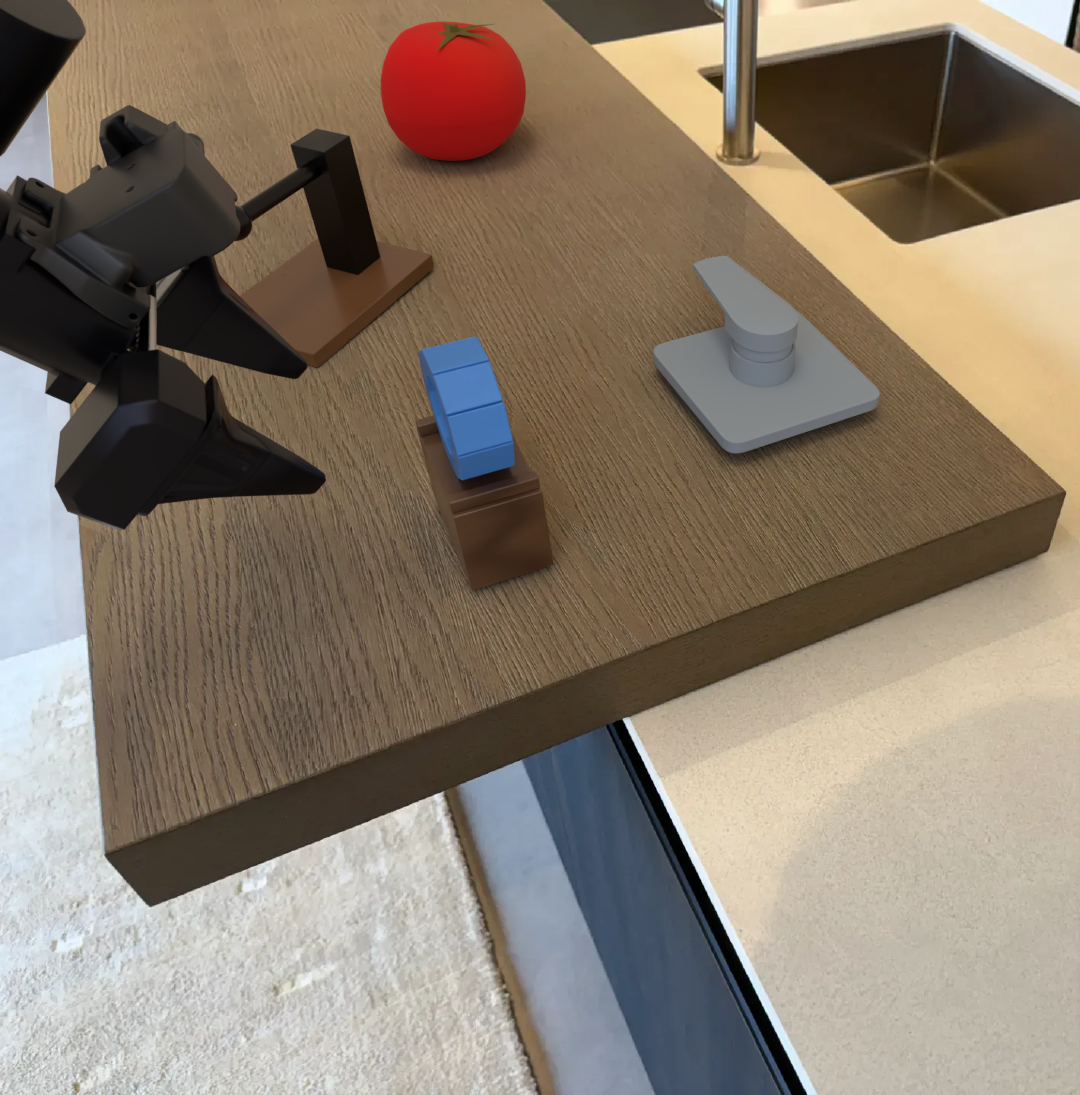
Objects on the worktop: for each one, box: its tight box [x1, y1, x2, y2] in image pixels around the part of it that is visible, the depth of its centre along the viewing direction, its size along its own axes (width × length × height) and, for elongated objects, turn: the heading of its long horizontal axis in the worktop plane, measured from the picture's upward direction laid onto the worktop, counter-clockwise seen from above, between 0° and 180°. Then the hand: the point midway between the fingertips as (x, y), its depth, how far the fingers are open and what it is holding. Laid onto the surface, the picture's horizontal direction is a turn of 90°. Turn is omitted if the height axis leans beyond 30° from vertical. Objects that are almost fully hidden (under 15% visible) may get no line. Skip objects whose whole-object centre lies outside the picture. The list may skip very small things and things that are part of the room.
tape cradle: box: [414, 414, 554, 591], centre depth 61 cm, size 5×8×7 cm, turn 25°
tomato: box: [380, 21, 527, 162], centre depth 95 cm, size 12×14×12 cm
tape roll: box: [417, 335, 515, 480], centre depth 57 cm, size 3×8×7 cm, turn 26°
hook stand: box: [234, 128, 435, 368], centre depth 77 cm, size 15×10×11 cm, turn 158°
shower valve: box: [652, 255, 881, 454], centre depth 73 cm, size 12×6×15 cm
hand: (311, 424), depth 50 cm, fingers open, 9 cm apart
